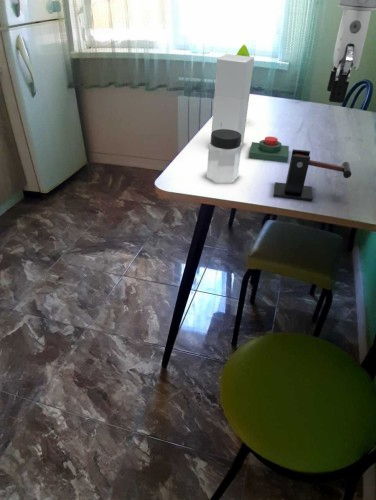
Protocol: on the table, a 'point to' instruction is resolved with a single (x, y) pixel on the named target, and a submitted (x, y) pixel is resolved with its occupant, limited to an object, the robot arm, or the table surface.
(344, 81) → the robot arm
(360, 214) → the table surface
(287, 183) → the lever stand
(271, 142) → the button
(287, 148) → the button box
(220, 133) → the jar
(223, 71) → the tall white carton
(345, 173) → the red lever handle
